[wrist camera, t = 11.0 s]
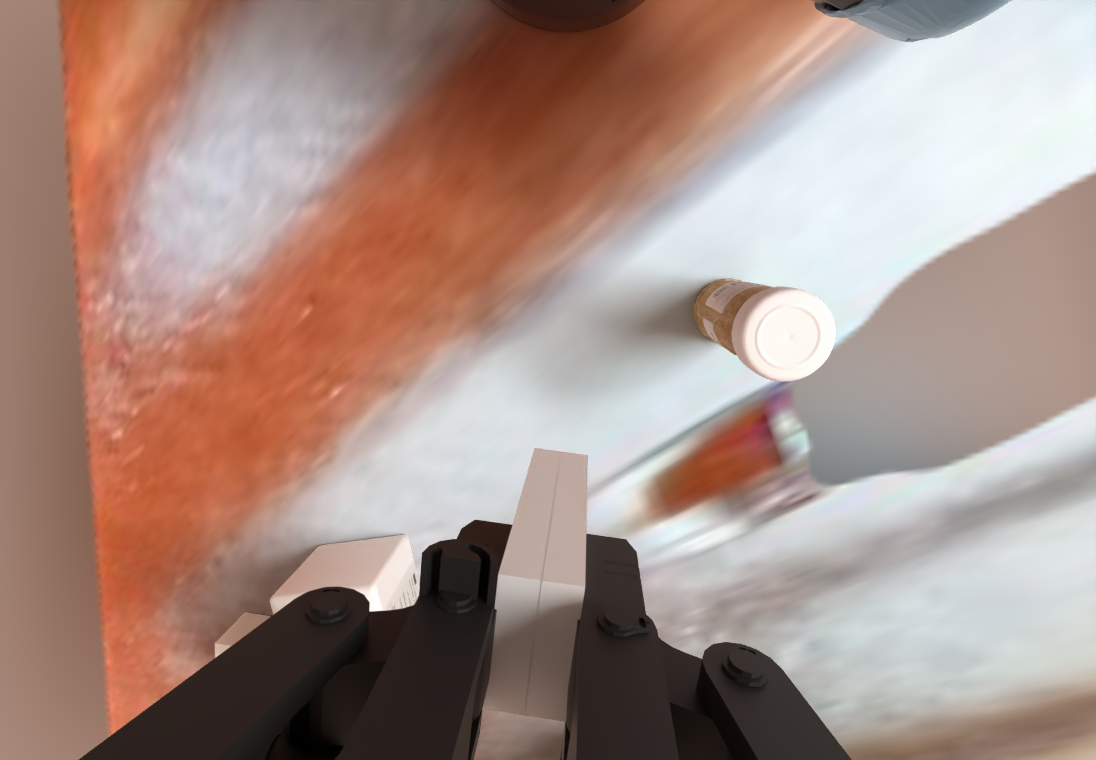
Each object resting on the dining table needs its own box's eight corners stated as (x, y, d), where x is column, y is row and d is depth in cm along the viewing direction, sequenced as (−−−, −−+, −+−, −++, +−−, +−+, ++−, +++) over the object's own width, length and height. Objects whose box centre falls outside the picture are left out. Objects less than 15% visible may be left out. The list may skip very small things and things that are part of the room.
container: (340, 627, 49) (252, 759, 36) (317, 543, 47) (217, 650, 34) (428, 617, 48) (370, 749, 35) (408, 532, 46) (340, 637, 34)
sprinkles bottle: (693, 343, 41) (740, 386, 28) (691, 279, 40) (740, 292, 27) (759, 339, 41) (837, 380, 28) (759, 274, 40) (840, 285, 27)
